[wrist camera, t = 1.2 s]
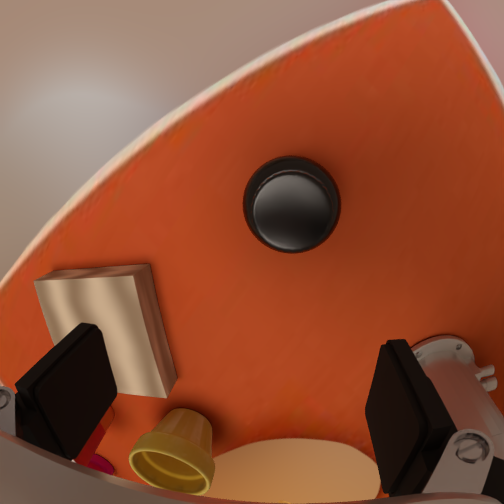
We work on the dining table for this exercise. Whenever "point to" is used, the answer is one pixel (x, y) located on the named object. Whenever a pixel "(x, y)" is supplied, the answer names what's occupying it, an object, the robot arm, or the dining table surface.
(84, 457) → the paper cup
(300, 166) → the supplement bottle
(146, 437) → the plant pot
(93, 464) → the pepper mill
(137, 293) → the beech block
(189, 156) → the dining table surface
